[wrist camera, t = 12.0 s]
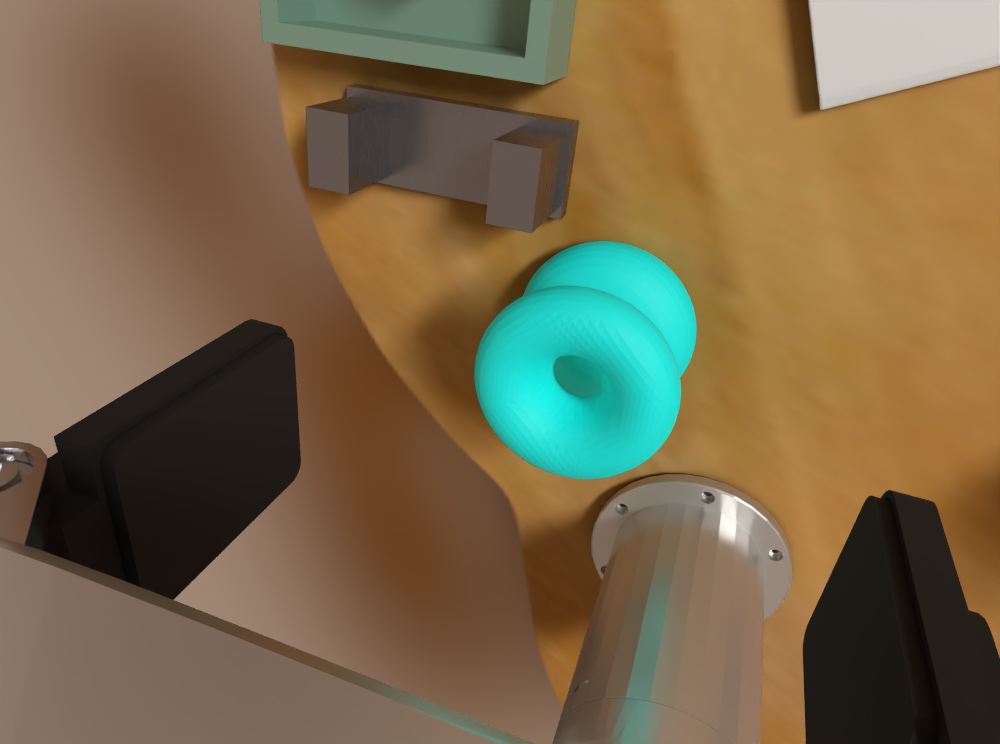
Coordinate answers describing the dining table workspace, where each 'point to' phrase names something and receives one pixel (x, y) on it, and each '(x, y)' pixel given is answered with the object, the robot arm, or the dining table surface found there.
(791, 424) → the dining table surface
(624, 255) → the donuts
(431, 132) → the bracket
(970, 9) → the external hard drive
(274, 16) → the tray
